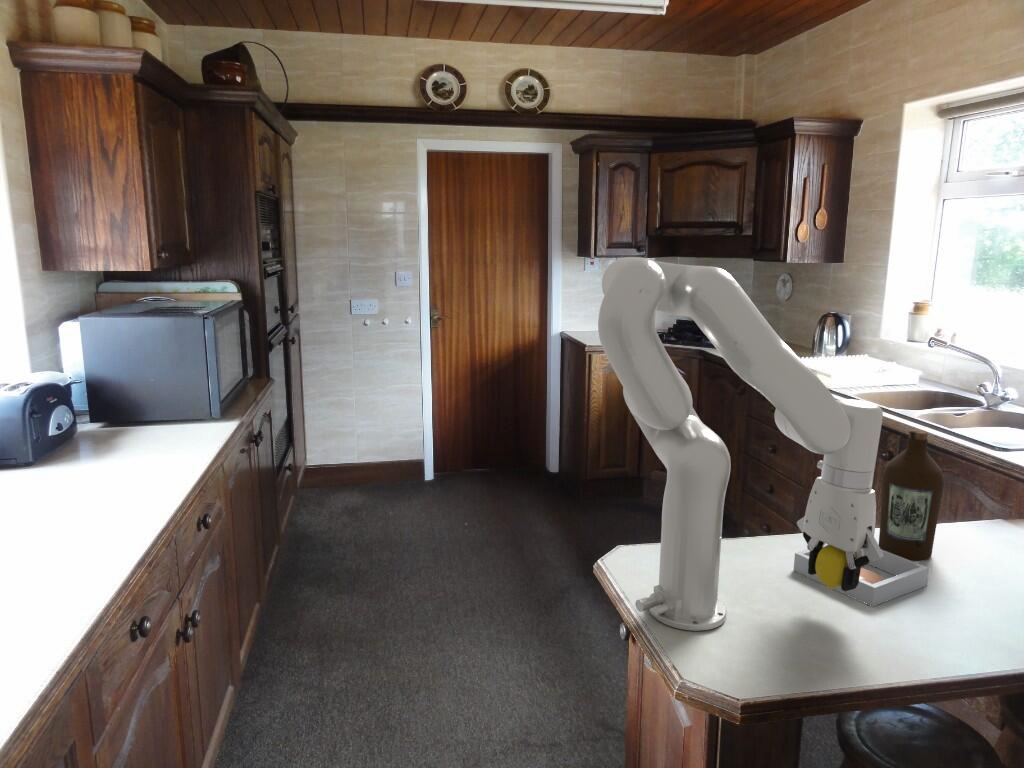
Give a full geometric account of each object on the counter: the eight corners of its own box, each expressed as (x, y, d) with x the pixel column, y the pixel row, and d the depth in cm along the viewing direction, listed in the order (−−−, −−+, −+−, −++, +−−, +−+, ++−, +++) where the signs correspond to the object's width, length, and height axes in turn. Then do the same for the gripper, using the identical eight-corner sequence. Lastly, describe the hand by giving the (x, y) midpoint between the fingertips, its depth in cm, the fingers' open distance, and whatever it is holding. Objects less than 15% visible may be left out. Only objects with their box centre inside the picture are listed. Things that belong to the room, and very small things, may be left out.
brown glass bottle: (878, 536, 149) (890, 422, 145) (936, 548, 144) (951, 429, 139) (871, 554, 140) (885, 433, 136) (933, 567, 135) (949, 441, 130)
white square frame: (872, 607, 119) (874, 587, 119) (793, 570, 133) (795, 552, 132) (926, 585, 127) (929, 567, 127) (847, 553, 141) (848, 536, 140)
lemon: (854, 597, 114) (861, 551, 113) (820, 595, 114) (827, 549, 113) (839, 581, 120) (846, 537, 118) (807, 580, 120) (813, 535, 118)
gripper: (787, 463, 119) (774, 564, 122) (883, 496, 104) (865, 609, 107) (816, 459, 122) (802, 556, 126) (912, 490, 108) (894, 599, 111)
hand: (831, 579), depth 117 cm, fingers closed on lemon, 5 cm apart
